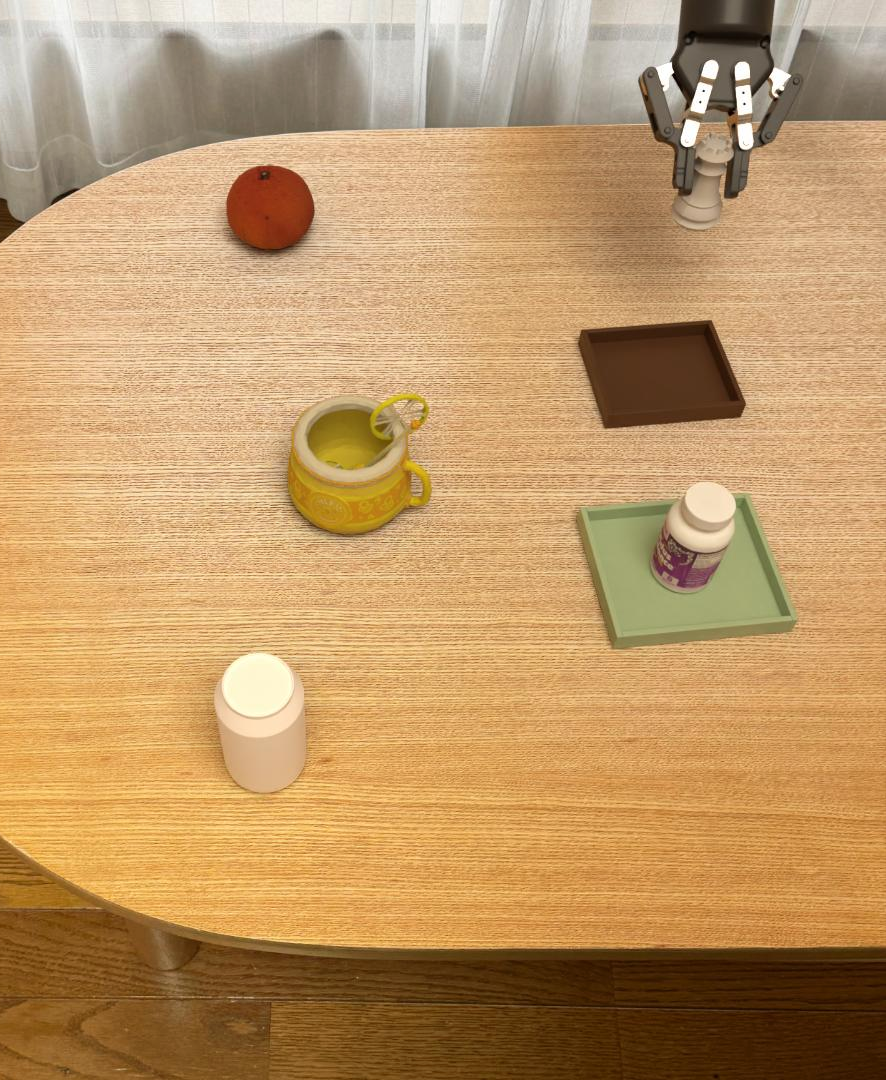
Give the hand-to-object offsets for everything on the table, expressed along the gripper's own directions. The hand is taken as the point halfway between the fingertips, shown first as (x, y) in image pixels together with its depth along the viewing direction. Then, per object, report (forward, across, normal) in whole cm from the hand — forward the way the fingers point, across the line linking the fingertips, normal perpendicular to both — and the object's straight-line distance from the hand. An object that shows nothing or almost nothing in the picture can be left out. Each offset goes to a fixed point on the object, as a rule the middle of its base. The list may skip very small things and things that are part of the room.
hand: (708, 195), depth 100 cm
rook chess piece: (+2, 0, +4) cm, 5 cm away
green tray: (+32, -1, -7) cm, 33 cm away
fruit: (+4, -40, +21) cm, 45 cm away
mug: (+27, -28, -2) cm, 40 cm away
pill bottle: (+31, -1, -7) cm, 32 cm away
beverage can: (+45, -34, -21) cm, 60 cm away
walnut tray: (+16, -1, +9) cm, 18 cm away
